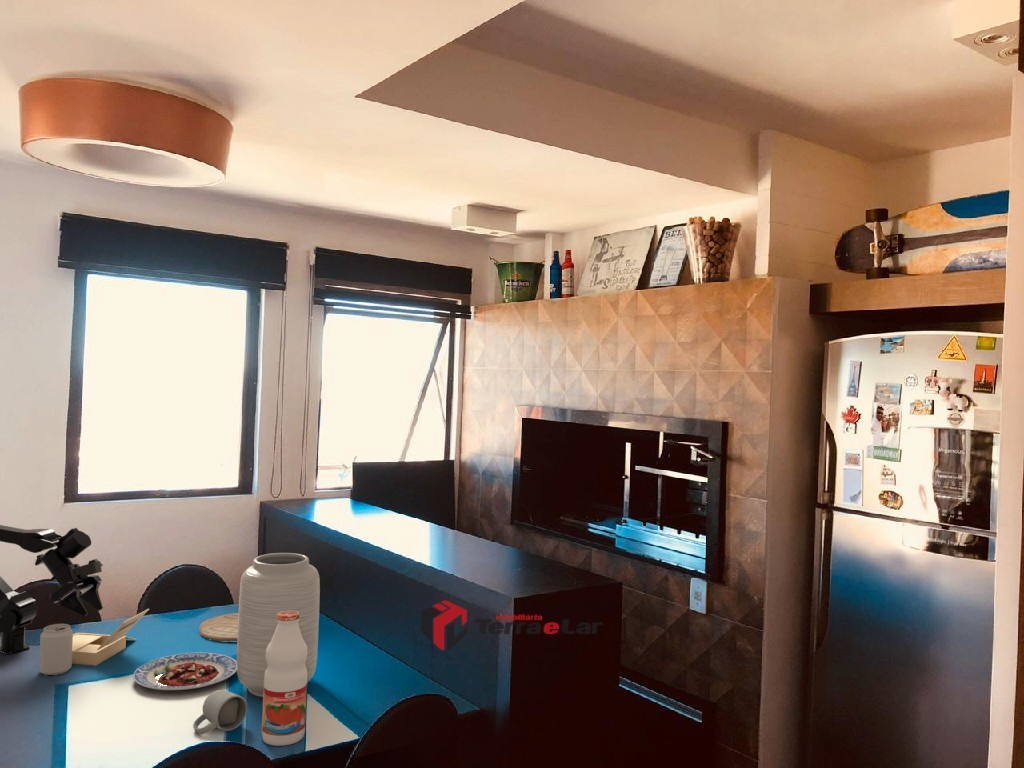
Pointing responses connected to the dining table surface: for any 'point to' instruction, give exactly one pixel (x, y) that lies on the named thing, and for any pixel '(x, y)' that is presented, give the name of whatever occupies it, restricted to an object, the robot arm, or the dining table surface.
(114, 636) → the flap
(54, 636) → the can
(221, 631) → the trivet
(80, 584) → the robot arm
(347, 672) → the dining table surface
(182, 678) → the ceramic plate
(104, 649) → the carton
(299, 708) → the fruit juice
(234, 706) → the ceramic mug
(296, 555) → the vase
